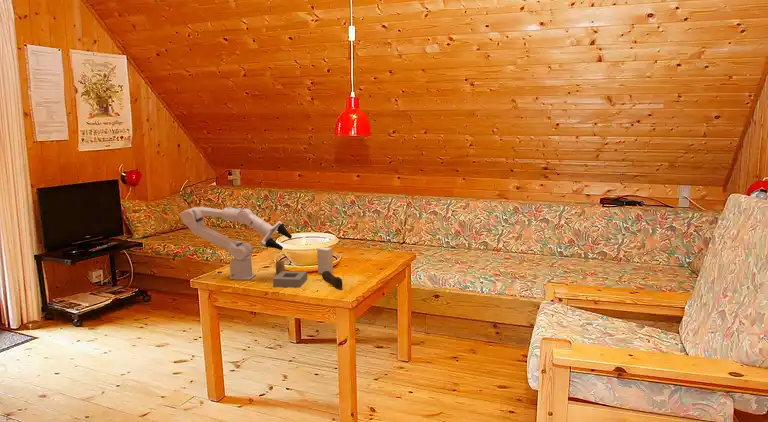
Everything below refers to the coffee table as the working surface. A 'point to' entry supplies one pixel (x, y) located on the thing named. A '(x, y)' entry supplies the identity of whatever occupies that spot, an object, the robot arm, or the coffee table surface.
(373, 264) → the coffee table surface
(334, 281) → the hand tool
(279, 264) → the walnut peg
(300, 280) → the socket stand
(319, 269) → the skincare box
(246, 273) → the robot arm
